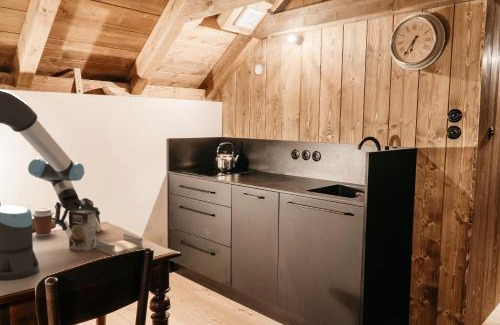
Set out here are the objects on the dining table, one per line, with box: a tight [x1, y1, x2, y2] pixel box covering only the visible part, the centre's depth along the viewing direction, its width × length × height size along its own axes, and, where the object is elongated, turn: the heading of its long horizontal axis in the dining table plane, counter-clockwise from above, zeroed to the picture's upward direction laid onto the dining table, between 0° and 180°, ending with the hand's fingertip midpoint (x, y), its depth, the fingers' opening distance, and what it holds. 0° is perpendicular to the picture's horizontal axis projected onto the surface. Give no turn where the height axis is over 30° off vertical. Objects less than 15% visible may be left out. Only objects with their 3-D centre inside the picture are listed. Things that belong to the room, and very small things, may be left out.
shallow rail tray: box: [95, 232, 143, 256], centre depth 182 cm, size 15×12×4 cm
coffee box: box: [68, 209, 97, 252], centre depth 181 cm, size 9×6×16 cm
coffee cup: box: [31, 207, 54, 237], centre depth 201 cm, size 9×9×12 cm
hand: (85, 232), depth 180 cm, fingers open, 12 cm apart
